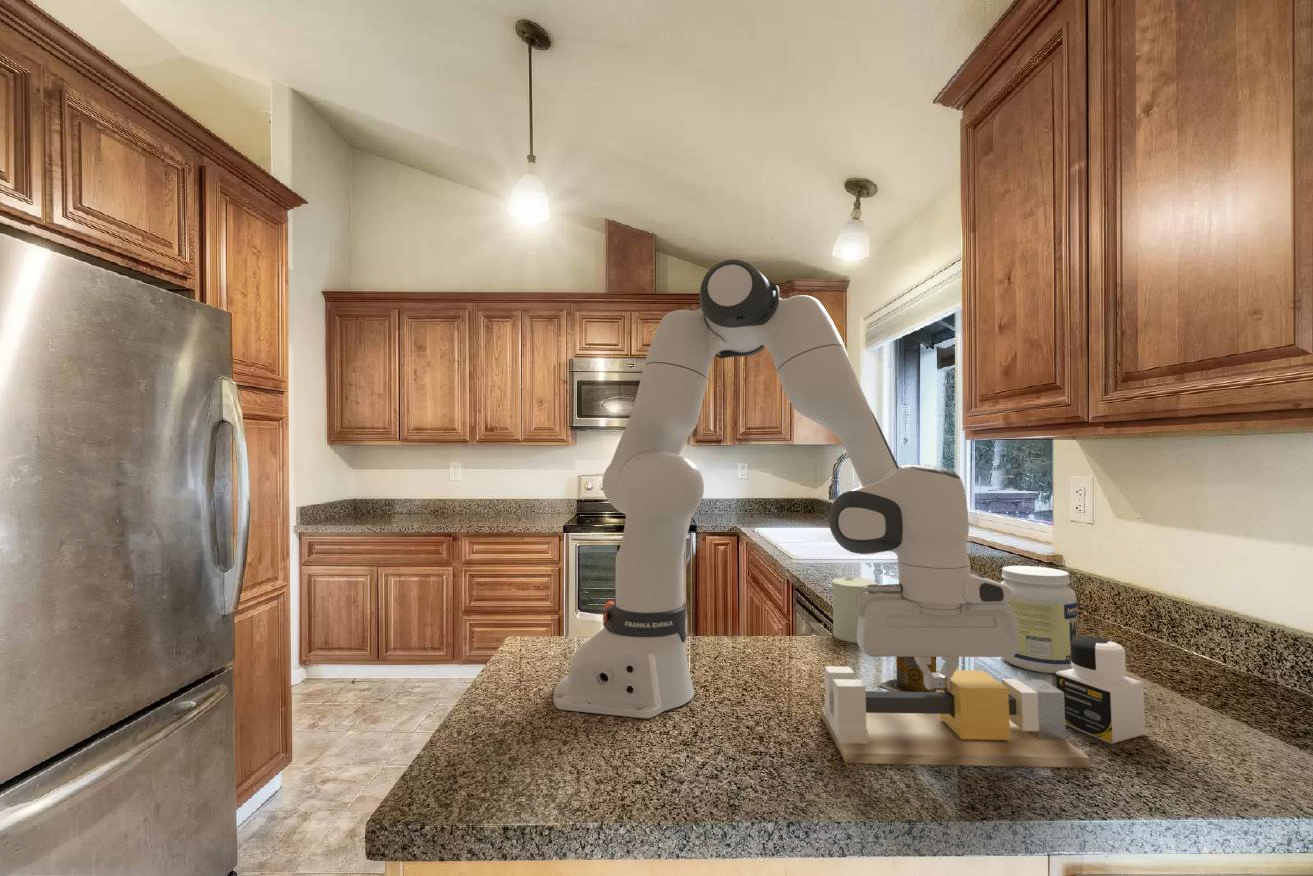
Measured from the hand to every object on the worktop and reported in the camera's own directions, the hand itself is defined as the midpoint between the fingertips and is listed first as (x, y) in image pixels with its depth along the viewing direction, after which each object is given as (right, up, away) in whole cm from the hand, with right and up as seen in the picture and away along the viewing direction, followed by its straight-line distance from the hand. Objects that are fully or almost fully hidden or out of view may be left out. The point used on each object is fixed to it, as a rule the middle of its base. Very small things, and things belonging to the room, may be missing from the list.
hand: (937, 688), depth 77 cm
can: (+5, -9, +45) cm, 46 cm away
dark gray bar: (-1, -3, 0) cm, 3 cm away
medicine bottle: (+24, -7, +2) cm, 25 cm away
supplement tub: (+32, -8, +28) cm, 43 cm away
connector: (+13, -5, -1) cm, 14 cm away
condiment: (+4, -8, +17) cm, 20 cm away
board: (0, -7, 0) cm, 7 cm away
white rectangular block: (+11, -4, -1) cm, 11 cm away
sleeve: (+4, -5, -1) cm, 7 cm away
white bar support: (-12, -6, 0) cm, 13 cm away
